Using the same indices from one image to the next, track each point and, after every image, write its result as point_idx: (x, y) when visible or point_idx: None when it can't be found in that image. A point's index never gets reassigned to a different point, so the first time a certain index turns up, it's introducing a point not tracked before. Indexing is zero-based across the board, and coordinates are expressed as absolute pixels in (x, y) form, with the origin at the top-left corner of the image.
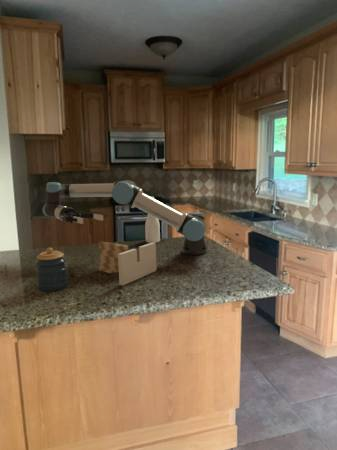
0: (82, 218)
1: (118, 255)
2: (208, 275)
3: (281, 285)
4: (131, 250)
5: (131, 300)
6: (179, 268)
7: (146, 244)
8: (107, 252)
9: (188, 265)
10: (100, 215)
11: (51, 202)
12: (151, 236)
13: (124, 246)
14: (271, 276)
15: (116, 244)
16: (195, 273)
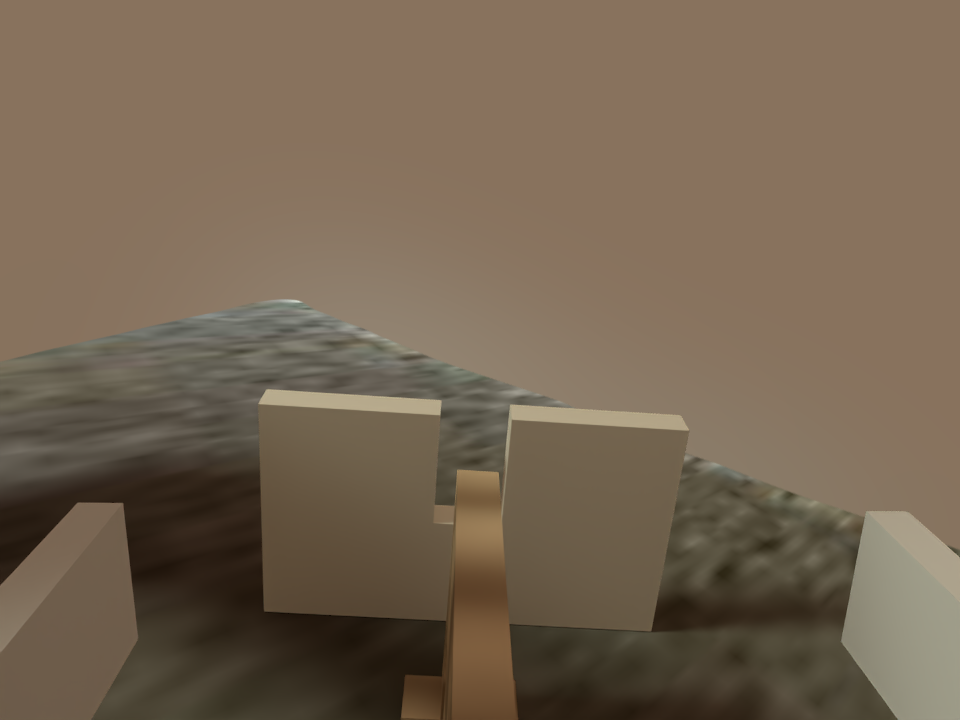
0: (888, 513)
1: (685, 439)
2: (253, 414)
3: (274, 304)
4: (558, 412)
5: (731, 505)
6: (173, 516)
7: (345, 407)
8: None
9: (89, 502)
10: (92, 550)
11: None
12: None
13: (498, 475)
14: (187, 318)
15: (481, 547)
16: (243, 449)
